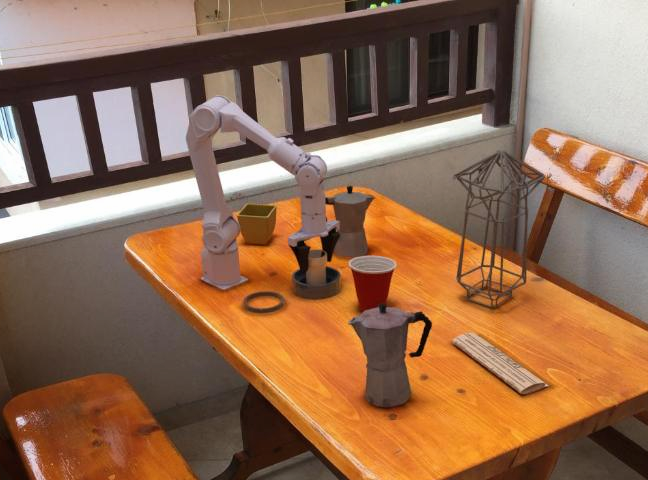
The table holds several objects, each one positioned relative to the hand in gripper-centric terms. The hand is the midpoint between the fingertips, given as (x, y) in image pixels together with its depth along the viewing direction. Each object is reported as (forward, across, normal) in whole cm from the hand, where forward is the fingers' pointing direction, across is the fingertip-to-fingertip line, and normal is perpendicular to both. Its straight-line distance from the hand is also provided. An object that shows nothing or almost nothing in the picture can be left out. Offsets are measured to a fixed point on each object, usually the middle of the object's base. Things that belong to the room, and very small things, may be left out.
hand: (315, 265), depth 204 cm
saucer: (+6, -14, +3) cm, 16 cm away
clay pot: (+6, 0, 0) cm, 6 cm away
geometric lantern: (+7, +25, -33) cm, 42 cm away
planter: (+7, 0, 0) cm, 7 cm away
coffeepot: (+7, +21, +11) cm, 25 cm away
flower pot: (+7, +10, +34) cm, 36 cm away
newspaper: (+7, +2, -53) cm, 53 cm away
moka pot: (+7, -22, -45) cm, 51 cm away
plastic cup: (+7, +2, -17) cm, 18 cm away
